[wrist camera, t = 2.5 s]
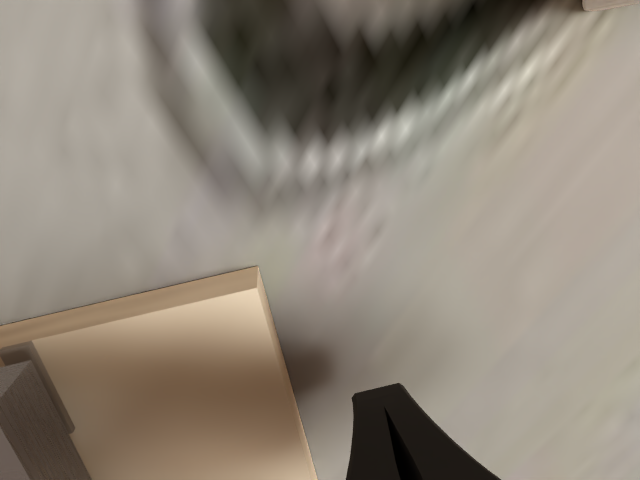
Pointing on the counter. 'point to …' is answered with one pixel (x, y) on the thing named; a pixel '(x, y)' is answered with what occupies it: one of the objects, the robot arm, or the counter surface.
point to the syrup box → (606, 4)
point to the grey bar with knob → (33, 431)
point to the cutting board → (171, 383)
